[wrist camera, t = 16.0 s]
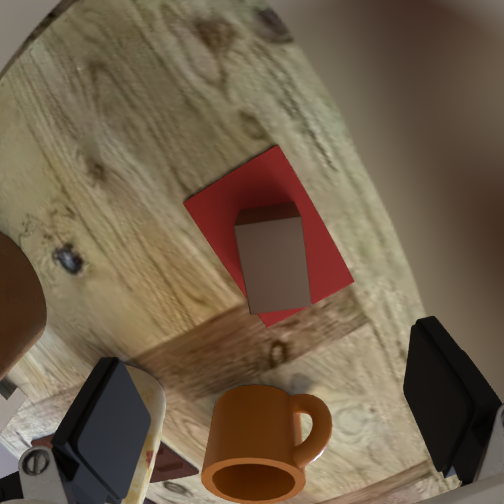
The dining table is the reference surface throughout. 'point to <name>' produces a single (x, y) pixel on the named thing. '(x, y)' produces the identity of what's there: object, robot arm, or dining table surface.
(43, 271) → the dining table surface
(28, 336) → the light blue round vessel
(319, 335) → the dining table surface
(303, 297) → the chocolate
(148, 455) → the food model
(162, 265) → the dining table surface
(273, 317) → the cloth
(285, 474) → the mug
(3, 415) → the paper towel holder
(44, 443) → the chocolate bar
